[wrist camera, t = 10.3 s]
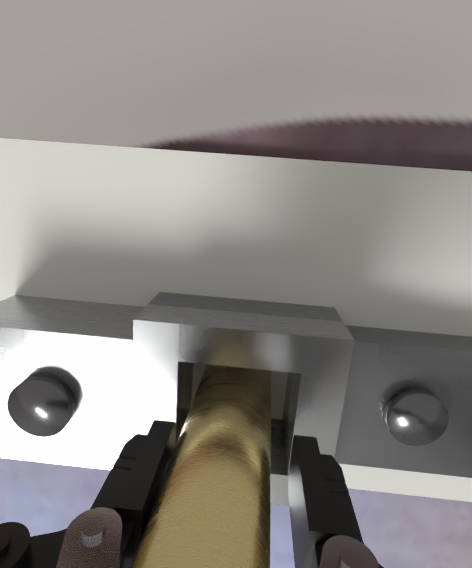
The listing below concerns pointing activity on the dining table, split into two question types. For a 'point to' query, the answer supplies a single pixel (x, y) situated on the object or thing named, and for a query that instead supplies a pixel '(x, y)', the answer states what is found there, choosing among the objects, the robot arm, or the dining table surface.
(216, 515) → the brass pin
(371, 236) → the mat
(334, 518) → the robot arm
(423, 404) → the slotted stepped fixture
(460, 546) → the dining table surface
